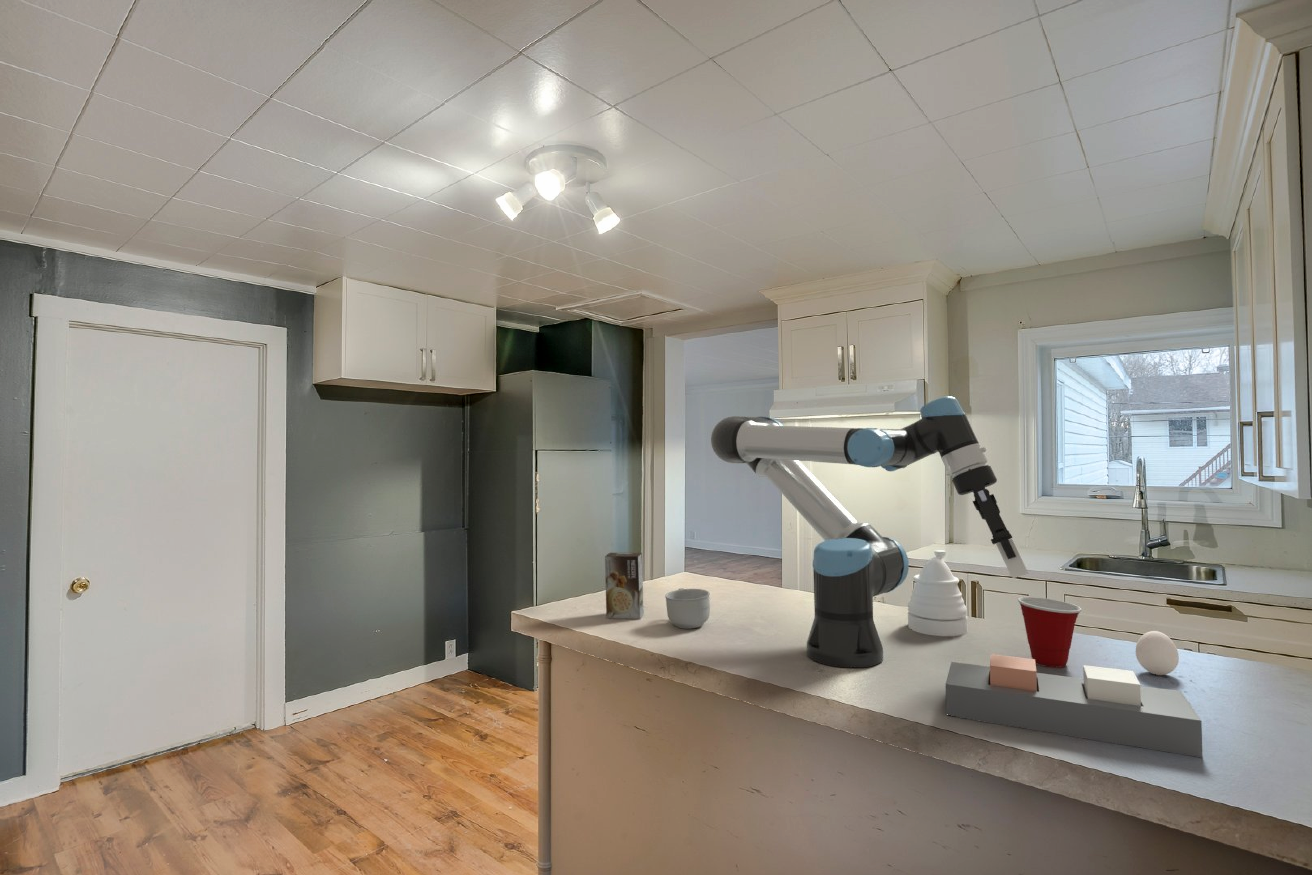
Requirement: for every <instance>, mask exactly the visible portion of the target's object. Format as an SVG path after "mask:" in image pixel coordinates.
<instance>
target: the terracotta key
mask: <svg viewBox="0 0 1312 875" xmlns="http://www.w3.org/2000/svg"><path fill="white" fill-rule="evenodd" d="M989 661H990V662H989V667H990V685H993V686H1001V687H1008V688H1015V689H1022V690H1029V691H1036V692H1037V674H1036V673H1037V666H1036V665H1037V664H1036V663H1035V659H1032V658H1026V657H1019V656H1018V657H1017V656H1010V655H1001V654H993V653H991V654H990V660H989Z"/></svg>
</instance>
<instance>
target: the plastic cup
mask: <svg viewBox="0 0 1312 875" xmlns="http://www.w3.org/2000/svg"><path fill="white" fill-rule="evenodd" d="M1017 601H1018V603H1019V605H1020V610H1021V614H1022V616H1023V620H1024V621H1023V622H1024V627H1025V628H1024V629H1025V632H1026V637H1027V644H1028V646H1029V650H1030V656H1031V659H1035V664H1036V663H1038V664H1037V665H1039V664H1040V665H1039V666H1042V665H1043V667H1050V668H1063V667H1064V666H1065V665H1066V664H1067V665H1068V662H1069V655H1070V649H1071V646H1072V642H1073V641H1072V640H1073V634H1074V631H1075V630H1074V629H1075V625H1076V622H1077V619H1078V617H1079V614H1080V613H1081V612H1082V608H1081V607H1080V606H1079V605H1077V604H1074V603H1070V602H1067V601H1062V600H1057V599H1054V598H1053V599H1051V598H1045V597H1039V596H1038V597H1037V596H1036V597H1034V596H1033V597H1032V596H1021V597H1018V598H1017ZM1067 665H1066V666H1067ZM1066 666H1065V667H1066Z"/></svg>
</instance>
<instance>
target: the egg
mask: <svg viewBox="0 0 1312 875" xmlns="http://www.w3.org/2000/svg"><path fill="white" fill-rule="evenodd" d="M1135 657H1136V659H1137V661H1138V664H1140V666H1141V667H1142V668H1143V669H1144V670H1145V671H1147V672H1148V673H1150V674H1153V675H1155V674H1156V675H1155V676H1166V675H1168V674H1171V673H1172V672H1174V671H1175V669H1176V668H1177V667H1178V665H1179V660H1180V656H1179V651H1178V648H1177V646H1176V645H1175V643H1174V642H1173V639H1171V638H1170V637H1169V636H1168V635H1166V634H1165V633H1163V632H1160V631H1158V630H1152V631H1151V630H1150V631H1147V632H1146V633H1143V635H1141V636H1140V638H1139V639H1138V641H1137V642H1136V646H1135Z"/></svg>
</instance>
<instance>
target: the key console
mask: <svg viewBox="0 0 1312 875" xmlns="http://www.w3.org/2000/svg"><path fill="white" fill-rule="evenodd" d="M1036 674H1037V692H1036V691H1029V690H1022V689H1015V688H1008V687H1001V686H993V685H990V666H987V665H980V664H972V663H964V662H957V661H955V662H954V661H951V662H950V665H949V670H948V673H947V676H946V681H945V710H946V711H945V713H946V714H948V715H951V716H950V717H952V716H956V717H955V718H958V717H959V718H960V719H964V718H967V719H966V720H971V719H972V720H971V721H977V720H980V721H979V722H983V721H985V722H984V723H989V724H995V723H997V724H996V725H1001V724H1002V725H1001V726H1007V725H1008V727H1013V728H1019V727H1021V728H1020V729H1025V728H1026V729H1027V730H1033V731H1039V732H1044V731H1046V732H1045V733H1050V732H1053V733H1052V734H1056V733H1057V735H1063V736H1068V737H1076V738H1083V739H1087V740H1092V741H1093V740H1094V741H1098V742H1099V741H1100V742H1104V743H1105V742H1106V743H1111V744H1116V745H1123V746H1128V747H1129V746H1130V747H1134V748H1141V749H1148V750H1153V751H1154V750H1155V751H1160V752H1165V753H1166V752H1167V753H1173V754H1177V755H1179V754H1180V755H1183V756H1190V757H1197V758H1203V756H1204V755H1203V730H1202V729H1203V727H1202V726H1203V724H1202V719H1201V717H1200V716H1199V715H1198V713H1197V712H1196V711H1195V709H1194V708H1193V707H1192V704H1191V703H1190V701H1188V698H1187V697H1186V696H1185V695H1184V694H1183V692H1182V691H1181V690H1175V689H1167V688H1159V687H1158V688H1157V687H1150V686H1144V685H1143V686H1142V685H1140V692H1141V706H1136V705H1129V704H1122V703H1115V702H1108V701H1101V700H1093V699H1086V696H1085V692H1084V678H1082V677H1081V678H1080V677H1072V676H1066V675H1065V676H1064V675H1057V674H1050V673H1043V672H1042V673H1041V672H1036ZM946 714H945V715H946Z"/></svg>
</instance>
